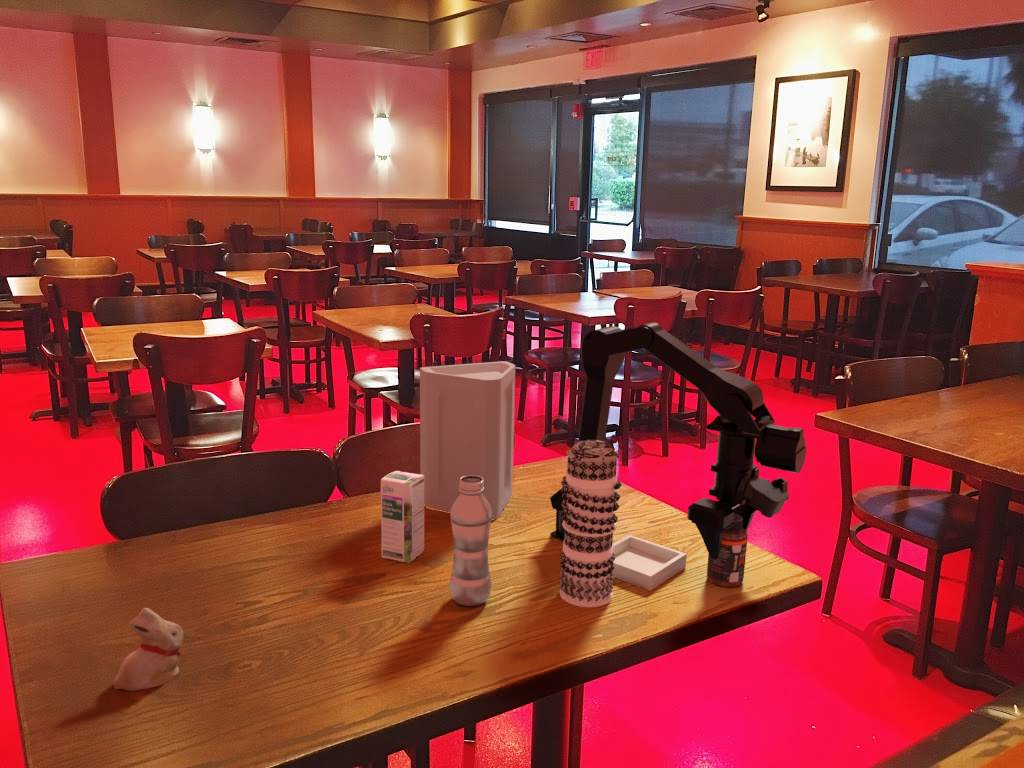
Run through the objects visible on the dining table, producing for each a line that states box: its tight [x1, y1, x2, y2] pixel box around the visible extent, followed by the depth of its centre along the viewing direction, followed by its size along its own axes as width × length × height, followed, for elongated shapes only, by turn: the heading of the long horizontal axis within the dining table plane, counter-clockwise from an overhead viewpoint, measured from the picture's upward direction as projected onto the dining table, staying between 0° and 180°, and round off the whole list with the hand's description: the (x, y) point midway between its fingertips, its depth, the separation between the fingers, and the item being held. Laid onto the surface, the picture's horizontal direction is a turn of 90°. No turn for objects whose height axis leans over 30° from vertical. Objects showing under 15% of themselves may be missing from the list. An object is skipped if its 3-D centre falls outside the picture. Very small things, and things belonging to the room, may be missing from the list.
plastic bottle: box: [449, 475, 492, 607], centre depth 125 cm, size 6×7×20 cm
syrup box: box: [380, 470, 425, 564], centre depth 141 cm, size 6×6×14 cm
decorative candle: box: [559, 440, 623, 608], centre depth 128 cm, size 9×9×25 cm
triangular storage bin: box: [419, 360, 516, 521], centre depth 162 cm, size 19×15×28 cm
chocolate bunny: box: [113, 607, 184, 692], centre depth 105 cm, size 6×8×10 cm
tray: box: [612, 534, 687, 591], centre depth 140 cm, size 12×12×2 cm
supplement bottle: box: [706, 513, 748, 588], centre depth 135 cm, size 6×6×11 cm
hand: (727, 549), depth 135 cm, fingers open, 9 cm apart
